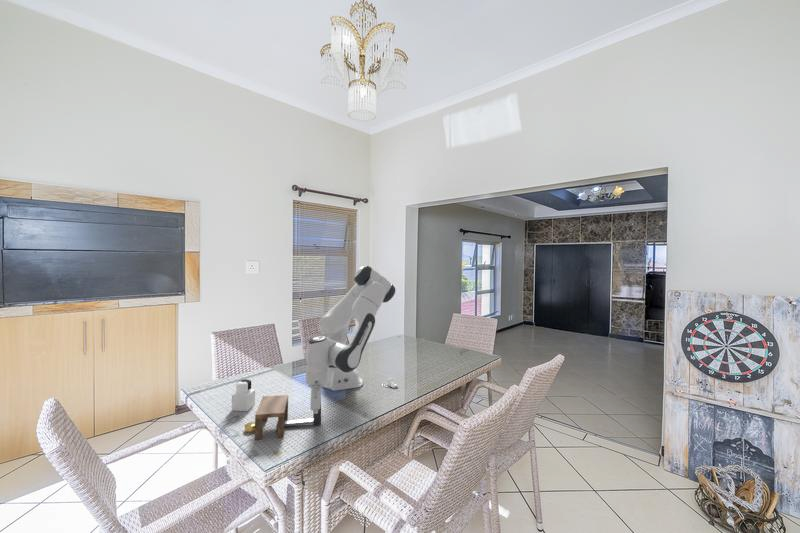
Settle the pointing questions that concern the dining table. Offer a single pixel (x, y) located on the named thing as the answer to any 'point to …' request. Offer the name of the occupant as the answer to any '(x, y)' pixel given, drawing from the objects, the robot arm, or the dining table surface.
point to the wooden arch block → (271, 413)
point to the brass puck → (250, 427)
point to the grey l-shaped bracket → (304, 420)
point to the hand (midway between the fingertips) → (316, 410)
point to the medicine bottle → (243, 396)
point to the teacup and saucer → (390, 382)
